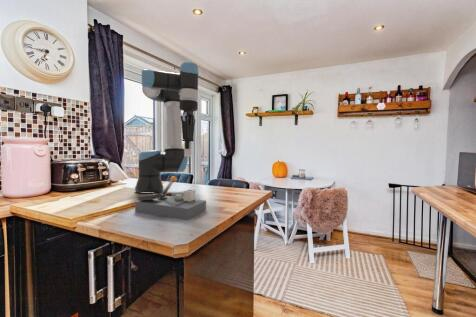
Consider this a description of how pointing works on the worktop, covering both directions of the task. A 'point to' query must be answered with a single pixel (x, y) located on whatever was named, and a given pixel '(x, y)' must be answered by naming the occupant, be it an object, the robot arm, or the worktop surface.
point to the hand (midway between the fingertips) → (187, 156)
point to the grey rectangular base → (171, 207)
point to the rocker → (149, 196)
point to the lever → (168, 186)
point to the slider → (189, 195)
